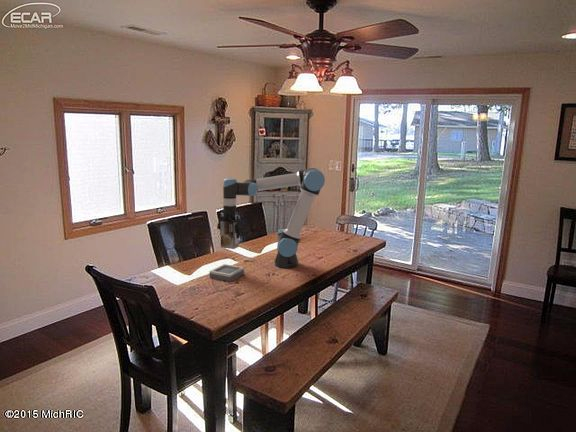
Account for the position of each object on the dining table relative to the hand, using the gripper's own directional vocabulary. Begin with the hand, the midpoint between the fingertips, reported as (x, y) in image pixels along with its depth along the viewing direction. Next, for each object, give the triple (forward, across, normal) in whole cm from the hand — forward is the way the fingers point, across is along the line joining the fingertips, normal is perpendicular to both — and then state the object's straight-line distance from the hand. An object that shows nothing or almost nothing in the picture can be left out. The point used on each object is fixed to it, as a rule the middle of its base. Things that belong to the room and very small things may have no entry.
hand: (229, 242), depth 247 cm
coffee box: (+3, 0, 0) cm, 3 cm away
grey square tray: (+18, -3, +7) cm, 20 cm away
